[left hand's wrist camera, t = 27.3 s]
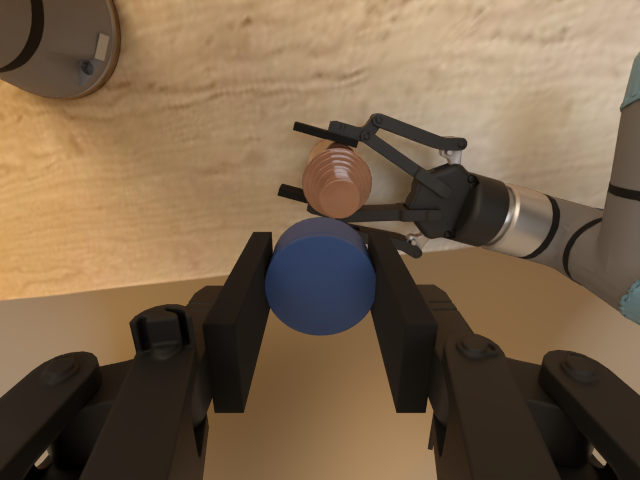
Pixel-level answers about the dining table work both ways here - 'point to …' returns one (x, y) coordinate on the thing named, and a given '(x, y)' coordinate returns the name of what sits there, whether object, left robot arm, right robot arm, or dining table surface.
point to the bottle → (336, 179)
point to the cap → (320, 277)
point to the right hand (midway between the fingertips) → (287, 158)
